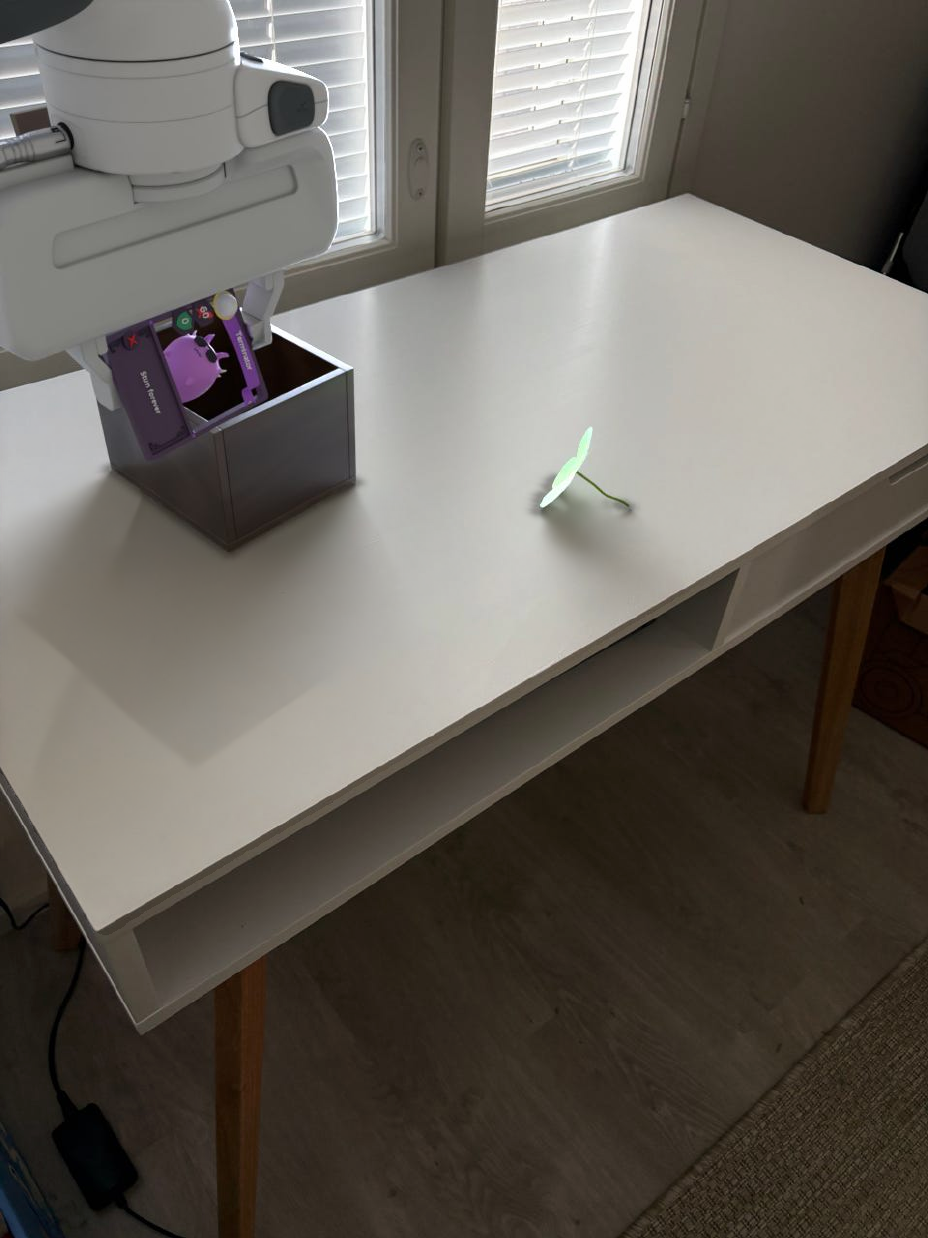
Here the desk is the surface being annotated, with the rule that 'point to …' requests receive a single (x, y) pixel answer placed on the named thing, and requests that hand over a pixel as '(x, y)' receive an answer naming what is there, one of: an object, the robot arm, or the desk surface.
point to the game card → (178, 372)
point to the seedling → (573, 472)
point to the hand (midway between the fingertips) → (189, 371)
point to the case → (249, 441)
